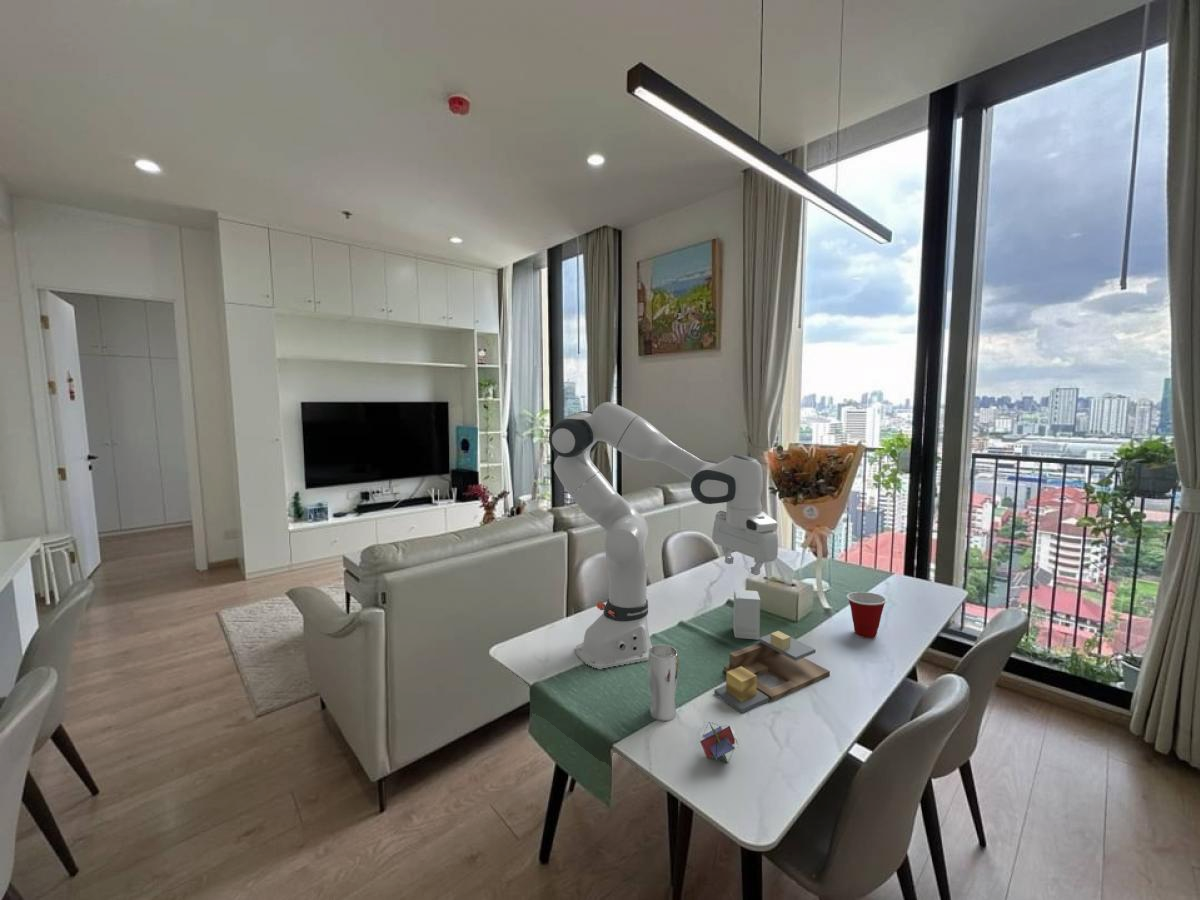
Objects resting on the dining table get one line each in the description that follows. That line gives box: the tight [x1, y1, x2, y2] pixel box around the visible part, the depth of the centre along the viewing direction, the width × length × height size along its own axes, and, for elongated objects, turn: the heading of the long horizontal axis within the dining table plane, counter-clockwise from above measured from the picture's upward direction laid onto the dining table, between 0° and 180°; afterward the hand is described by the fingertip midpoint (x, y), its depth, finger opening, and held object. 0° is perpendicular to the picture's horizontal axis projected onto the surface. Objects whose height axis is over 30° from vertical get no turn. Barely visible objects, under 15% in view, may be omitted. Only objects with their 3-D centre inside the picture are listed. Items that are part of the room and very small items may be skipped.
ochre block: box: [725, 666, 758, 702], centre depth 119 cm, size 5×5×5 cm
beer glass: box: [647, 643, 679, 722], centre depth 113 cm, size 7×7×15 cm
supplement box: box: [732, 589, 761, 641], centre depth 152 cm, size 7×7×13 cm
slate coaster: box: [713, 685, 770, 714], centre depth 119 cm, size 9×9×1 cm
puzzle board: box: [723, 642, 831, 702], centre depth 130 cm, size 22×16×5 cm
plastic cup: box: [846, 591, 887, 639], centre depth 151 cm, size 11×11×12 cm
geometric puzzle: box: [699, 721, 739, 764], centre depth 99 cm, size 7×7×8 cm
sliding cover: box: [758, 630, 817, 661], centre depth 133 cm, size 8×12×4 cm, turn 30°
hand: (741, 568), depth 129 cm, fingers open, 8 cm apart
